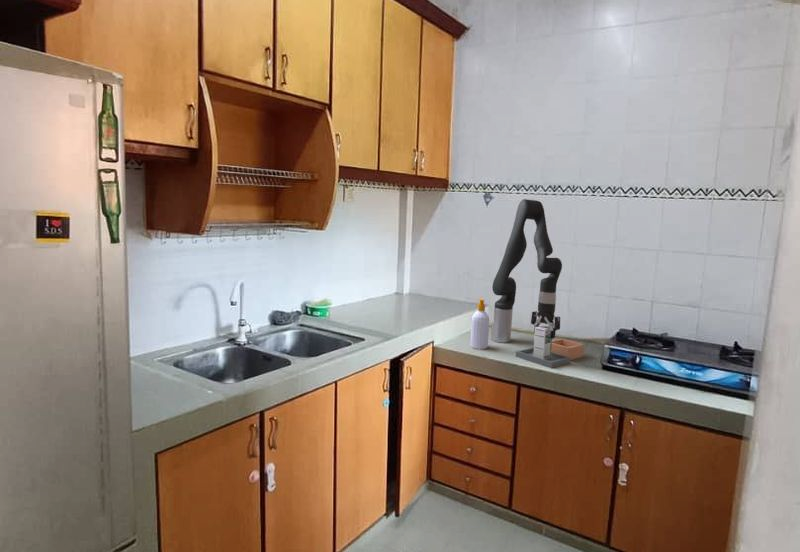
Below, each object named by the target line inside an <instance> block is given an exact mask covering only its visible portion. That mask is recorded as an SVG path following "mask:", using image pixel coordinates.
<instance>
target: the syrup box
mask: <svg viewBox="0 0 800 552" xmlns="http://www.w3.org/2000/svg"><path fill="white" fill-rule="evenodd" d="M550 332H551V329H550V327H549V326H548V325H539V327H535V333H534V338H533V347H534V353H533V356H535V357H538V358H542V359H549V358H551V344H552V340H553V339H551V338H550Z"/></svg>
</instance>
